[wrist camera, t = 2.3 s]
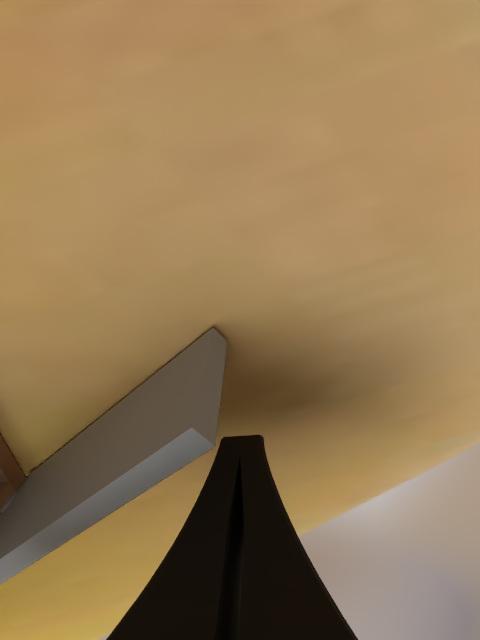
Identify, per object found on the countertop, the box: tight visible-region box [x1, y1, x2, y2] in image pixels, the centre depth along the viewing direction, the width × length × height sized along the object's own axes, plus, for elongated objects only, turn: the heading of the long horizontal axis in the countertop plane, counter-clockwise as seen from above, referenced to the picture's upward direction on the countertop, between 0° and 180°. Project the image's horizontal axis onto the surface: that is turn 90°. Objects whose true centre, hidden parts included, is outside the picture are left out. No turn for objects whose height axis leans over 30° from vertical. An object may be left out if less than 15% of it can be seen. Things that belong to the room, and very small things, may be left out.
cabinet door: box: [0, 328, 227, 584], centre depth 12 cm, size 2×13×5 cm, turn 131°
